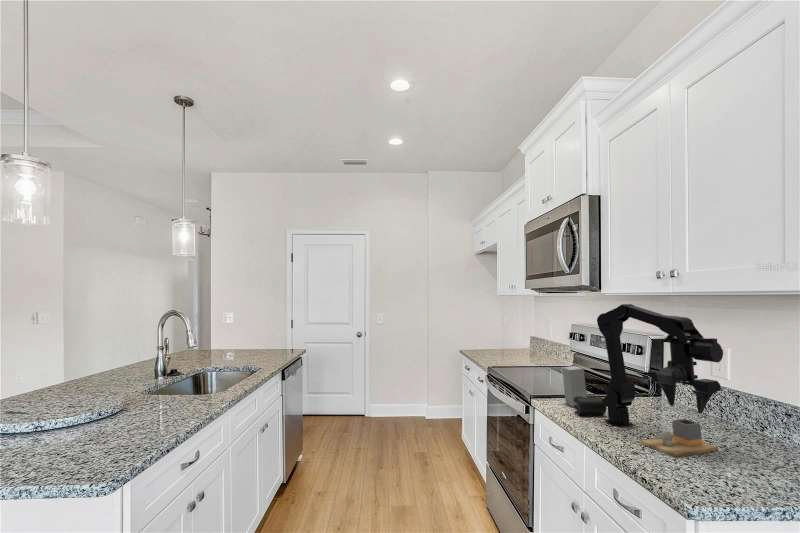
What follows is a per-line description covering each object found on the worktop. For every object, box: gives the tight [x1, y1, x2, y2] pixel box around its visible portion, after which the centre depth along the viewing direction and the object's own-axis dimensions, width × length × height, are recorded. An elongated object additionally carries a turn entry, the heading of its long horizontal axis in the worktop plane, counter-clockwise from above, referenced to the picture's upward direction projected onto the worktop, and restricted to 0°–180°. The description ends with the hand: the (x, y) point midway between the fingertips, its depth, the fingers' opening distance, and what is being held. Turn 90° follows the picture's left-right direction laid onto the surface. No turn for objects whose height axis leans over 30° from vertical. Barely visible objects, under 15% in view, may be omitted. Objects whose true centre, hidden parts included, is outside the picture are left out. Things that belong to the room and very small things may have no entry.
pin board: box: [639, 431, 719, 459], centre depth 123 cm, size 12×16×4 cm
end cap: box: [573, 395, 608, 416], centre depth 158 cm, size 10×7×7 cm
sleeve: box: [671, 418, 703, 446], centre depth 125 cm, size 5×5×6 cm
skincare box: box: [561, 365, 588, 408], centre depth 172 cm, size 8×7×16 cm
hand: (685, 409), depth 125 cm, fingers open, 9 cm apart
